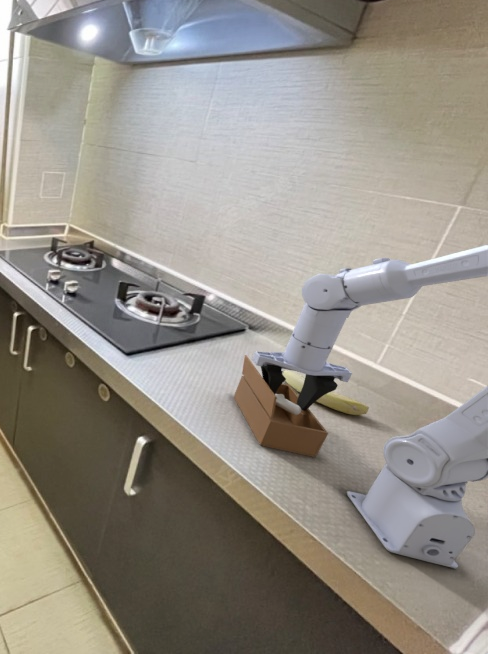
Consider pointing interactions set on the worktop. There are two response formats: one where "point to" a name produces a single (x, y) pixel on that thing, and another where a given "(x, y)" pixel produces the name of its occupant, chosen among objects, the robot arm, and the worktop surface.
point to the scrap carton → (281, 422)
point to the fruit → (328, 396)
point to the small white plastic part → (287, 405)
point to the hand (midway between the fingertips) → (283, 403)
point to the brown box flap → (259, 386)
